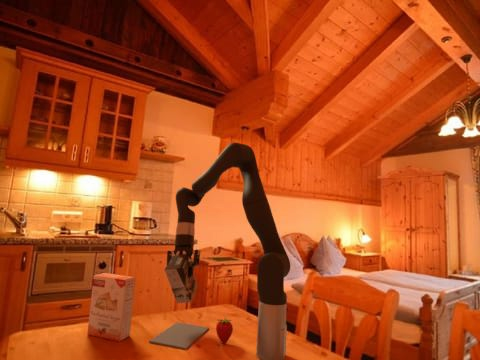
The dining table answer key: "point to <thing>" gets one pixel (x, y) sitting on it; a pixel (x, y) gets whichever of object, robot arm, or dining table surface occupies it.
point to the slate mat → (180, 335)
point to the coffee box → (181, 279)
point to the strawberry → (224, 330)
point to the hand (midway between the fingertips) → (181, 277)
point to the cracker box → (111, 306)
